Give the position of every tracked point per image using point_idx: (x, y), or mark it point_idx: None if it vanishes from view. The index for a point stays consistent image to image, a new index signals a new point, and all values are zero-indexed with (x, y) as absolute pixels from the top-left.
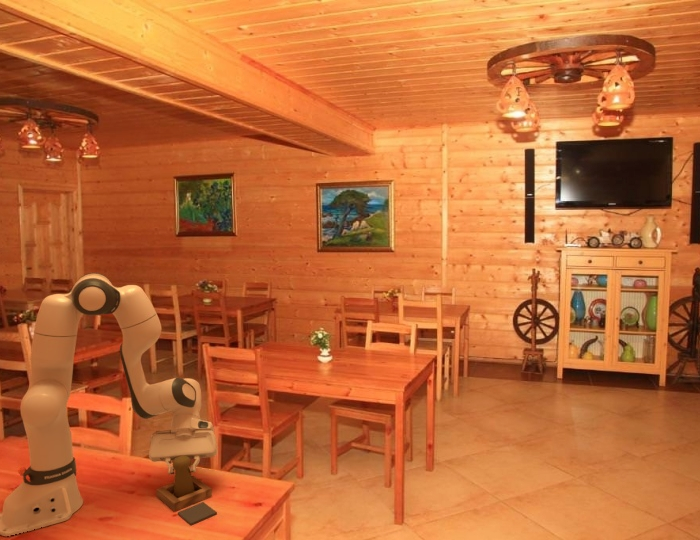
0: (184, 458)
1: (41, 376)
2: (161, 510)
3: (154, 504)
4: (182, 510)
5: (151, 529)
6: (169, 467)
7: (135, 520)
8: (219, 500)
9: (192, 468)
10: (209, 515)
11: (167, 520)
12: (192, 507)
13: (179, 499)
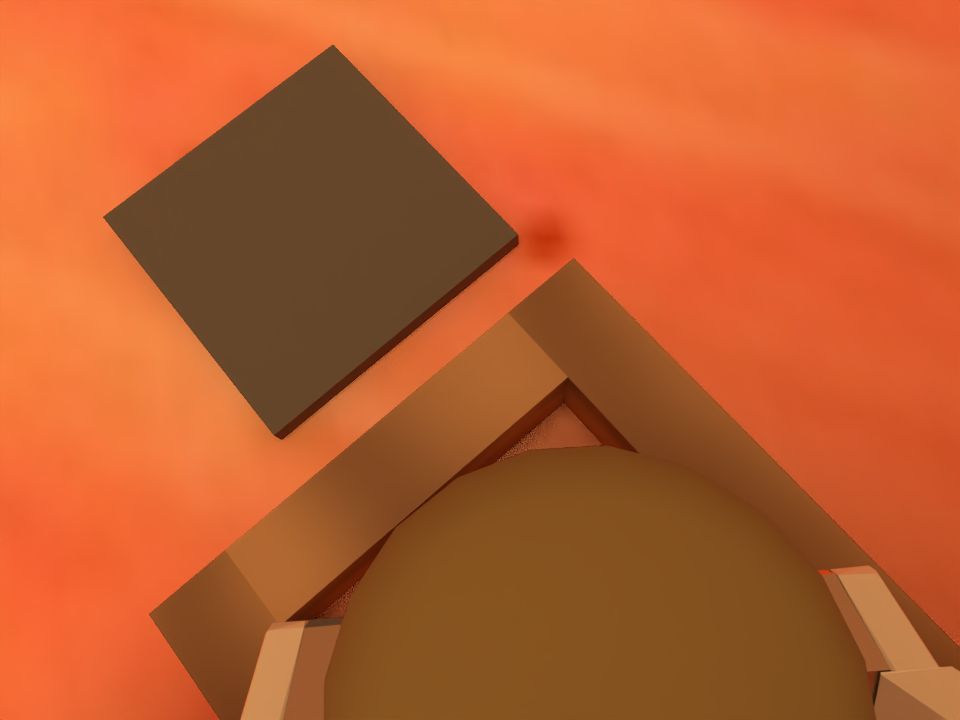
0: (469, 669)
1: None
2: (731, 334)
3: (877, 475)
4: (473, 267)
5: (697, 16)
6: (909, 648)
7: (940, 161)
8: (103, 502)
9: (314, 644)
10: (172, 166)
11: (593, 147)
12: (375, 321)
13: (532, 349)
